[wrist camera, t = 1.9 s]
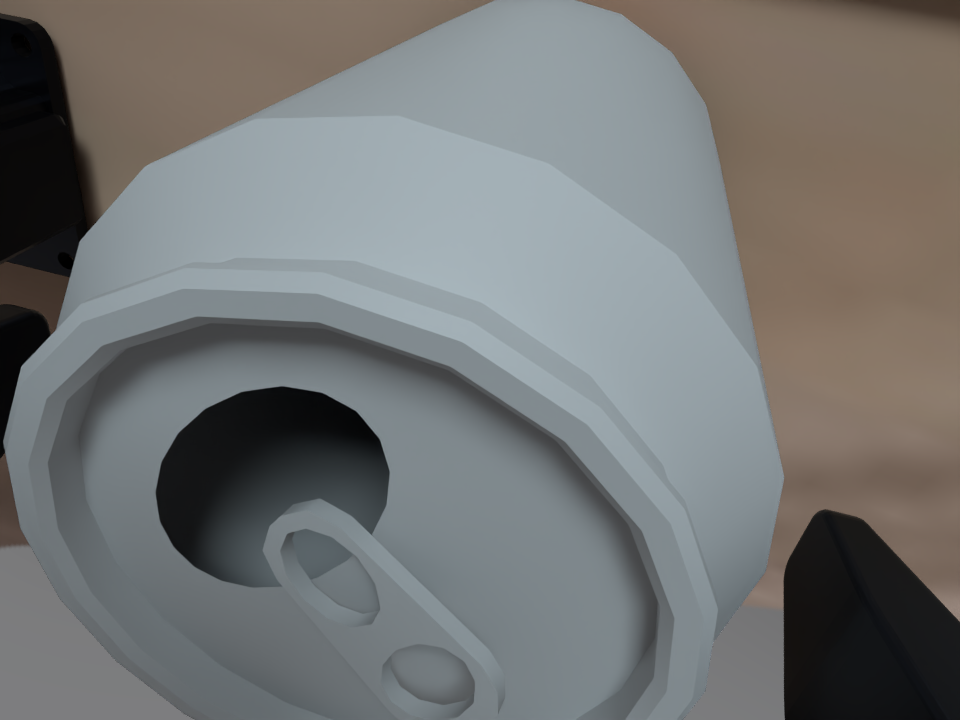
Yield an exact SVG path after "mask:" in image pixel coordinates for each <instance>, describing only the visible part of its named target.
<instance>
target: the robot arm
mask: <svg viewBox="0 0 960 720" xmlns="http://www.w3.org/2000/svg"><path fill="white" fill-rule="evenodd" d="M24 36H25V37H26V38H27V39H28V41H29V43H30V45H31V51H30V50H29V49H28V47H27V46H26V43H25V41H24ZM87 232H88V230H87V225H86V219H85V214H84V209H83V203H82V198H81V192H80V187H79V182H78V176H77V171H76V165H75V160H74V155H73V149H72V144H71V138H70V133H69V128H68V122H67V117H66V111H65V106H64V101H63V95H62V90H61V85H60V79H59V74H58V68H57V63H56V58H55V52H54V47H53V44H52V41H51V38H50V36H49V35H48V33H47V32H46V30H45V29H44V28H43V27H42V26H41V25H40V24H38V23H37V22H35V21H32V20H30V19H26V18H21V17H16V16H11V15H6V14H1V13H0V264H2V263H4V262H10V263H14V264H18V265H23V266H27V267H31V268H35V269H39V270H43V271H47V272H51V273H55V274H59V275H63V276H67V277H70V276H71V272H72V268H73V265H74V261H75V257H76V254H77V250H78V246H79V242H80V240H81V239H82V238H83V237H84V236H85V235H86V233H87ZM69 255H70V256H71V257H72V258H73V260H74V261H73V260H72V259H71V258H70V256H69ZM50 336H51V334H50V329H49V325H48V322H47V320H46V319H45V317H44V316H43V315H42V314H41V313H39V312H37V311H35V310H31V309H27V308H23V307H19V306H15V305H9V304H3V305H0V458H1V457H2V456H3V455H4V453H5V449H4V444H3V440H4V436H5V432H6V428H7V424H8V420H9V415H10V411H11V407H12V403H13V399H14V395H15V390H16V386H17V382H18V378H19V374H20V370H21V366H22V365H23V364H24V363H25V362H26V361H27V360H28V359H29V358H30V357H31V356H32V355H33V354H34V353H35V352H36V351H37V350H38V348H39V347H40V346H41V345H42V344H43V343H44V342H45V341H46V340H47V339H48V338H49V337H50ZM784 710H785V720H960V622H959V621H958V620H957V618H956V617H955V616H954V615H953V614H952V613H951V612H950V611H949V610H948V609H947V608H946V607H945V606H944V605H943V604H942V603H941V601H940V600H939V599H938V598H937V597H936V596H935V595H934V594H933V593H932V592H931V591H930V590H929V589H928V588H927V587H926V586H925V584H924V583H923V582H922V581H921V580H920V579H919V578H918V577H917V576H916V575H915V574H914V573H913V572H912V571H911V570H910V569H909V567H908V566H907V565H906V564H905V563H904V562H903V561H902V560H901V559H900V558H899V557H898V556H897V555H896V554H895V553H894V552H893V550H892V549H891V548H890V547H889V546H888V545H887V544H886V543H885V542H884V541H883V540H882V539H881V538H880V537H879V536H878V535H877V534H876V532H875V531H874V530H873V529H872V528H871V527H870V526H869V525H868V524H867V523H866V522H865V521H864V520H862V519H860V518H858V517H855V516H851V515H847V514H843V513H839V512H835V511H831V510H826V509H825V510H821V511H818V512H817V513H816V514H815V515H814V516H813V518H812V519H811V521H810V523H809V524H808V526H807V528H806V530H805V531H804V533H803V535H802V537H801V538H800V540H799V542H798V544H797V545H796V547H795V549H794V551H793V552H792V554H791V556H790V558H789V560H788V562H787V565H786V569H785V573H784Z"/></svg>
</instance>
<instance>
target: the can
mask: <svg viewBox="0 0 960 720" xmlns="http://www.w3.org/2000/svg"><path fill="white" fill-rule="evenodd" d="M56 329H57V330H56V331H55V332H54V333H53V334H52V335H51V336H50V337H49V338H48V339H47V340H46V341H45V342H44V343H43V344H42V345H41V346H40V347H39V348H38V350H37V351H36V352H35V353H34V354H33V355H32V356H31V357H30V358H29V359H28V360H27V361H26V362H25V363H24V364H23V365H22V366H21V370H20V374H19V378H18V382H17V386H16V390H15V395H14V399H13V403H12V407H11V411H10V415H9V420H8V424H7V428H6V432H5V436H4V440H3V444H4V449H5V454H6V459H7V464H8V469H9V474H10V479H11V484H12V489H13V494H14V499H15V504H16V509H17V514H18V519H19V524H20V529H21V530H22V532H23V534H24V536H25V538H26V539H27V541H28V543H29V545H30V546H31V548H32V550H33V552H34V554H35V555H36V557H37V559H38V561H39V563H40V564H41V566H42V568H43V570H44V571H45V573H46V575H47V577H48V579H49V580H50V582H51V584H52V586H53V588H54V589H55V591H56V593H57V595H58V597H59V598H60V600H62V602H63V603H64V604H65V605H66V606H67V607H68V608H69V610H70V611H71V612H72V613H73V614H74V615H75V616H76V617H77V618H78V620H79V621H80V622H81V623H82V624H83V625H84V626H85V627H86V628H87V629H88V630H89V632H90V633H91V634H92V635H93V636H94V637H95V638H96V639H97V641H98V642H99V643H100V644H101V645H102V646H103V647H104V648H105V649H106V650H107V652H108V653H109V654H110V655H111V656H112V657H113V658H114V659H115V660H116V661H117V662H118V663H119V664H120V665H122V666H123V667H124V668H126V669H127V670H128V671H130V672H131V673H132V674H134V675H135V676H136V677H137V678H139V679H140V680H141V681H143V682H144V683H145V684H146V685H148V686H149V687H150V688H152V689H153V690H154V691H155V692H157V693H158V694H159V695H161V696H162V697H163V698H164V699H166V700H167V701H168V702H170V703H171V704H172V705H174V706H175V707H176V708H177V709H179V710H180V711H181V712H183V713H184V714H186V715H187V716H189V717H191V718H193V719H195V720H683V719H684V718H685V716H686V715H687V714H688V713H689V711H690V710H691V709H692V708H693V706H694V705H695V704H696V702H697V701H698V700H699V698H700V697H701V696H702V695H703V693H704V692H705V690H706V683H707V677H708V671H709V665H710V658H711V652H712V645H713V642H714V641H715V639H716V638H717V637H718V635H719V634H720V633H721V631H722V630H723V629H724V627H725V626H726V624H727V623H728V622H729V620H730V619H731V618H732V616H733V615H734V614H735V612H736V611H737V610H738V608H739V607H740V606H741V604H742V603H743V601H744V600H745V599H746V597H747V596H748V595H749V593H750V592H751V591H752V589H753V588H754V587H755V585H756V584H757V582H758V581H759V580H760V578H761V577H762V576H763V574H764V573H765V571H766V566H767V561H768V556H769V551H770V546H771V541H772V536H773V531H774V526H775V521H776V516H777V511H778V506H779V501H780V496H781V491H782V486H783V481H784V474H783V469H782V465H781V460H780V455H779V450H778V445H777V440H776V435H775V430H774V425H773V421H772V416H771V411H770V406H769V401H768V396H767V391H766V386H765V381H764V376H763V372H762V367H761V362H760V357H759V352H758V347H757V342H756V337H755V332H754V328H753V323H752V318H751V313H750V308H749V303H748V298H747V293H746V288H745V283H744V279H743V274H742V269H741V264H740V259H739V254H738V249H737V244H736V239H735V235H734V230H733V225H732V220H731V215H730V210H729V205H728V200H727V195H726V190H725V186H724V181H723V176H722V171H721V166H720V161H719V157H718V153H717V149H716V145H715V140H714V136H713V132H712V128H711V123H710V119H709V115H708V111H707V107H706V104H705V103H704V101H703V99H702V98H701V96H700V95H699V93H698V92H697V90H696V89H695V87H694V86H693V84H692V83H691V81H690V79H689V78H688V76H687V75H686V73H685V72H684V70H683V69H682V67H681V66H680V64H679V63H678V61H677V59H676V58H675V56H674V55H673V53H672V52H671V51H669V50H668V49H667V48H665V47H664V46H663V45H661V44H660V43H659V42H657V41H656V40H655V39H653V38H652V37H651V36H649V35H648V34H647V33H645V32H644V31H643V30H641V29H640V28H639V27H637V26H636V25H635V24H633V23H632V22H631V21H629V20H628V19H627V18H625V17H624V16H623V15H622V14H619V13H616V12H612V11H609V10H606V9H602V8H599V7H596V6H592V5H589V4H586V3H583V2H579V1H576V0H495V1H493V2H490V3H488V4H486V5H484V6H481V7H479V8H477V9H474V10H472V11H470V12H468V13H465V14H463V15H461V16H459V17H456V18H454V19H452V20H449V21H447V22H445V23H443V24H440V25H438V26H436V27H434V28H432V29H430V30H428V31H426V32H424V33H422V34H420V35H418V36H415V37H413V38H411V39H409V40H407V41H405V42H403V43H401V44H399V45H397V46H395V47H393V48H390V49H388V50H386V51H384V52H382V53H380V54H378V55H376V56H374V57H372V58H370V59H368V60H365V61H363V62H361V63H359V64H357V65H355V66H353V67H351V68H349V69H347V70H345V71H342V72H340V73H338V74H336V75H334V76H332V77H330V78H328V79H326V80H324V81H322V82H320V83H317V84H315V85H313V86H311V87H309V88H307V89H305V90H303V91H301V92H299V93H297V94H295V95H292V96H290V97H288V98H286V99H284V100H282V101H280V102H278V103H276V104H274V105H272V106H270V107H267V108H265V109H263V110H261V111H259V112H257V113H255V114H253V115H251V116H249V117H247V118H245V119H242V120H240V121H238V122H236V123H234V124H232V125H230V126H228V127H226V128H224V129H222V130H220V131H217V132H215V133H213V134H211V135H209V136H207V137H205V138H203V139H201V140H199V141H197V142H194V143H192V144H190V145H188V146H186V147H184V148H182V149H180V150H178V151H176V152H174V153H172V154H169V155H167V156H165V157H163V158H161V159H159V160H157V161H155V162H153V163H151V164H149V165H147V166H145V167H144V168H143V169H142V171H141V172H140V173H139V174H138V175H137V176H136V177H135V179H134V180H133V181H132V182H131V183H130V184H129V185H128V187H127V188H126V189H125V190H124V191H123V192H122V193H121V195H120V196H119V197H118V198H117V199H116V200H115V201H114V203H113V204H112V205H111V206H110V207H109V208H108V209H107V211H106V212H105V213H104V214H103V215H102V216H101V217H100V219H99V220H98V221H97V222H96V223H95V224H94V225H93V227H92V228H91V229H90V230H89V231H88V232H87V233H86V235H85V236H84V237H83V238H82V239H81V240H80V242H79V246H78V250H77V254H76V257H75V261H74V265H73V268H72V272H71V276H70V279H69V283H68V287H67V291H66V294H65V298H64V302H63V305H62V309H61V313H60V316H59V320H58V324H57V328H56Z"/></svg>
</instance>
